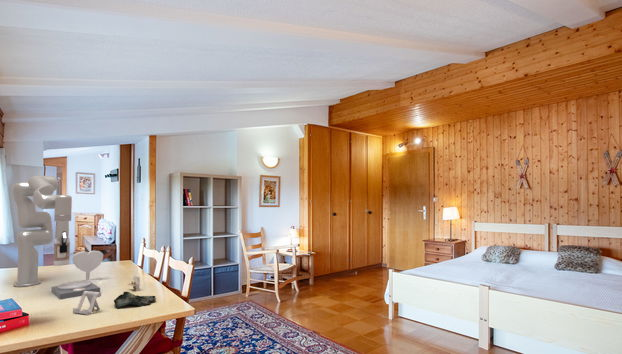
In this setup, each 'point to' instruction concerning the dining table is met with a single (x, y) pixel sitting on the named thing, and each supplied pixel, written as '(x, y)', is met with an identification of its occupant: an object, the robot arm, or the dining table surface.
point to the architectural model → (135, 283)
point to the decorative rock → (132, 300)
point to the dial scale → (74, 289)
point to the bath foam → (61, 257)
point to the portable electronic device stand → (92, 301)
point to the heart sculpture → (88, 262)
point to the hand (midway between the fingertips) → (61, 251)
